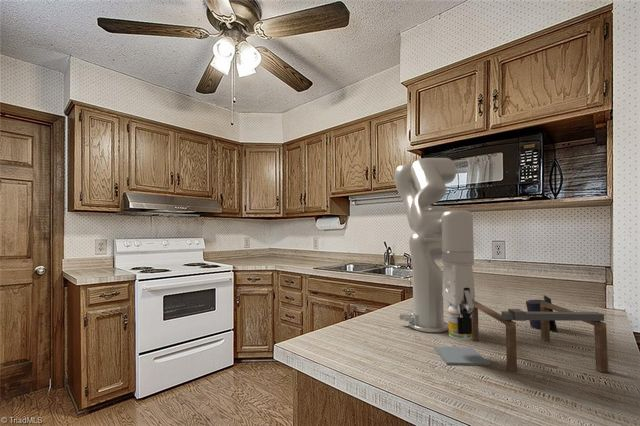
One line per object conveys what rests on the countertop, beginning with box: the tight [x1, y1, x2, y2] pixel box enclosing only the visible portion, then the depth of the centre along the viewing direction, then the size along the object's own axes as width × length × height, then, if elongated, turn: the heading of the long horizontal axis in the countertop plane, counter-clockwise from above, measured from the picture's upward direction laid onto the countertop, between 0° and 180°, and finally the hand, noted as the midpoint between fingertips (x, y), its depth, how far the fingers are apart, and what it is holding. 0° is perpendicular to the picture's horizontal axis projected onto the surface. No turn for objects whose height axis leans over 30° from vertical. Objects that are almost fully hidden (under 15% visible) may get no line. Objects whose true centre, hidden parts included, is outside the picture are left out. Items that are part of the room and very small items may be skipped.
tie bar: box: [500, 308, 605, 322], centre depth 75 cm, size 22×3×2 cm, turn 87°
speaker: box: [525, 294, 558, 333], centre depth 104 cm, size 8×6×10 cm
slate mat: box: [433, 346, 491, 366], centre depth 82 cm, size 10×10×1 cm
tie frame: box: [470, 300, 609, 374], centre depth 83 cm, size 22×21×11 cm
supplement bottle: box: [447, 302, 472, 341], centre depth 82 cm, size 5×5×10 cm
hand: (459, 329), depth 82 cm, fingers closed on supplement bottle, 5 cm apart
